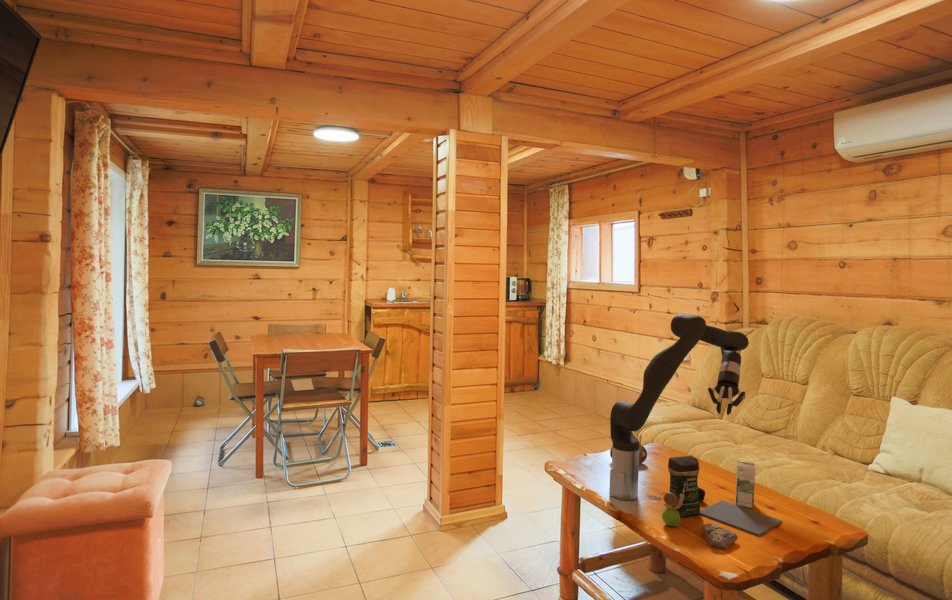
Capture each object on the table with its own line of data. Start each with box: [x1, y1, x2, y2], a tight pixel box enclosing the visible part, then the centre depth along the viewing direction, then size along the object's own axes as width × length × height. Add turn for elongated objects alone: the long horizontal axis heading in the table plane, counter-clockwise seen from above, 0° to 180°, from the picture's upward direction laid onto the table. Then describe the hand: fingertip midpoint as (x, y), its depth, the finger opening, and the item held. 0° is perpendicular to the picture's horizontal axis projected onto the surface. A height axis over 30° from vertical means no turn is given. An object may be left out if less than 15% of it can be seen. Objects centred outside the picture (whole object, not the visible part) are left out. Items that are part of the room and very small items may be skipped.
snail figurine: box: [661, 490, 685, 527], centre depth 177 cm, size 5×6×12 cm
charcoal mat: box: [698, 499, 783, 537], centre depth 184 cm, size 16×20×1 cm
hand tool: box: [698, 486, 706, 502], centre depth 208 cm, size 23×5×6 cm, turn 179°
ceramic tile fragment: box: [700, 522, 739, 550], centre depth 168 cm, size 12×3×10 cm
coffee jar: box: [667, 455, 701, 517], centre depth 187 cm, size 10×8×19 cm
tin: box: [609, 444, 648, 465], centre depth 235 cm, size 15×3×8 cm, turn 90°
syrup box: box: [734, 460, 757, 510], centre depth 194 cm, size 6×6×14 cm
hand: (723, 413), depth 209 cm, fingers open, 2 cm apart
